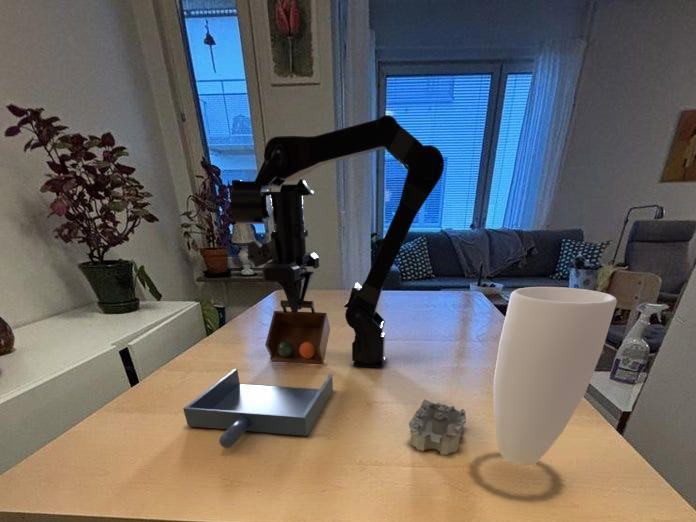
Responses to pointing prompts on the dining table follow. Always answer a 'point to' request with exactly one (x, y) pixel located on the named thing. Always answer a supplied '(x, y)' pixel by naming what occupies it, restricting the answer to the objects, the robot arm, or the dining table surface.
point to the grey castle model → (437, 427)
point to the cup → (545, 365)
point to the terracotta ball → (307, 350)
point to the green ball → (285, 349)
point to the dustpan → (257, 408)
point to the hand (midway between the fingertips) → (296, 310)
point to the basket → (298, 333)
